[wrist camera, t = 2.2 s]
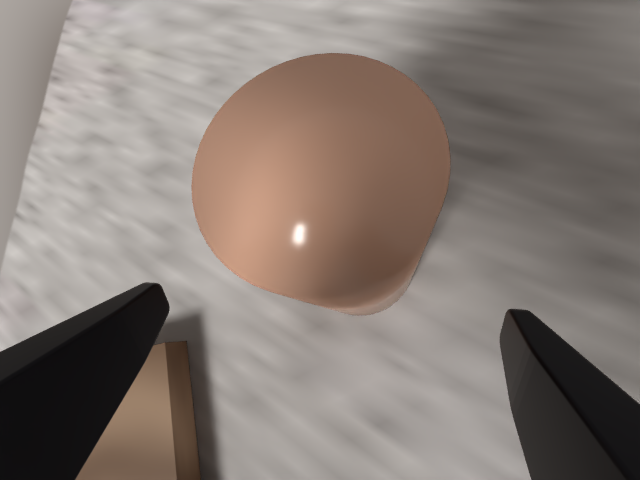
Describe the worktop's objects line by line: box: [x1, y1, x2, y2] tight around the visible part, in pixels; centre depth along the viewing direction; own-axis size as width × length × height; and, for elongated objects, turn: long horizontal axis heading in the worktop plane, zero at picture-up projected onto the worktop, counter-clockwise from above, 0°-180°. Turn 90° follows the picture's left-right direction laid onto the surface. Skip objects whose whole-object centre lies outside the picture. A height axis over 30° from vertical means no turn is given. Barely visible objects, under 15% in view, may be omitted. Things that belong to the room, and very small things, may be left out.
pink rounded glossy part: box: [192, 53, 450, 316], centre depth 13 cm, size 6×6×12 cm
